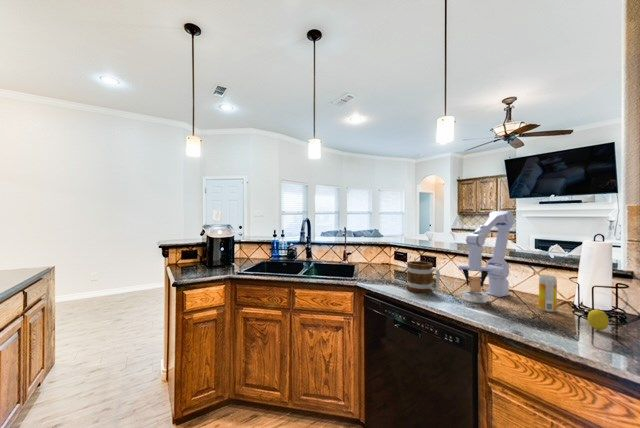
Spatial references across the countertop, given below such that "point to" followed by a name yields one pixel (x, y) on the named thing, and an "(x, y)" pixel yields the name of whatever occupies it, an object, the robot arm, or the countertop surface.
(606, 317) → the lemon
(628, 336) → the countertop surface
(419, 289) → the mug
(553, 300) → the beer can
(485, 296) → the round grey ashtray
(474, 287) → the tan cup
